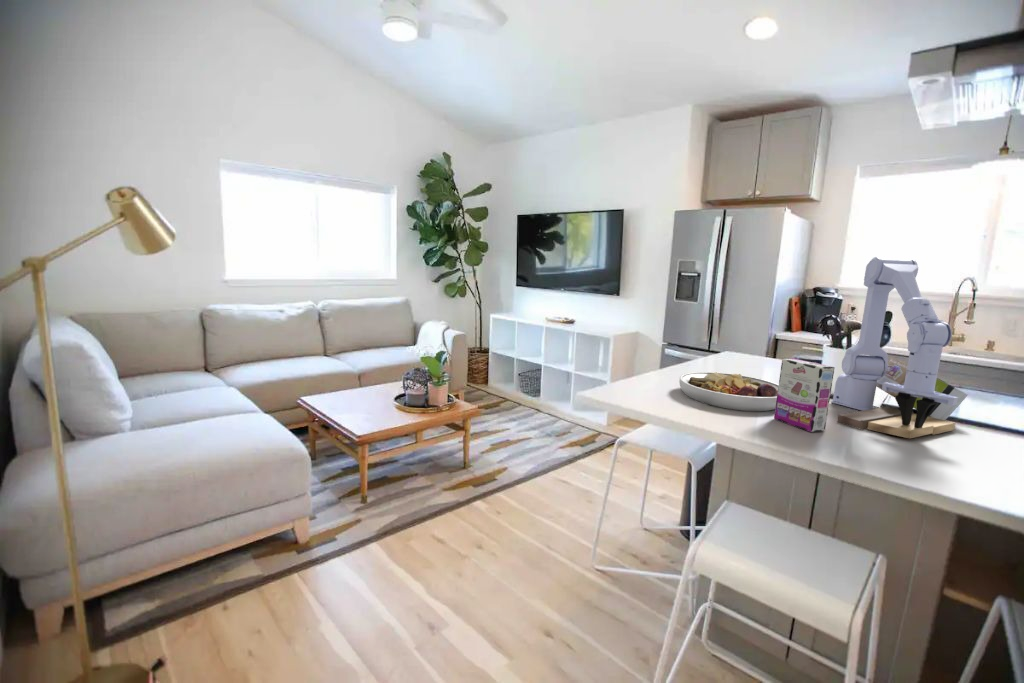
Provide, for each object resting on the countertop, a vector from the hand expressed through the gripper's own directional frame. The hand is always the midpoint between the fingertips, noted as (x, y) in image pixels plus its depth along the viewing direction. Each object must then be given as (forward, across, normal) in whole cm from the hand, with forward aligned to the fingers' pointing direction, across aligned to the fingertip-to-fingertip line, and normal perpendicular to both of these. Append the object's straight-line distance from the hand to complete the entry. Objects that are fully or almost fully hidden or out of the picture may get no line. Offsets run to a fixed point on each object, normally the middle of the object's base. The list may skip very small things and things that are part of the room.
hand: (911, 426), depth 118 cm
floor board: (+3, -10, +6) cm, 12 cm away
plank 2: (+2, -2, +11) cm, 12 cm away
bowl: (+3, -40, -16) cm, 43 cm away
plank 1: (+2, -2, 0) cm, 3 cm away
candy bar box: (+3, -16, -20) cm, 25 cm away
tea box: (-2, -6, +29) cm, 29 cm away
